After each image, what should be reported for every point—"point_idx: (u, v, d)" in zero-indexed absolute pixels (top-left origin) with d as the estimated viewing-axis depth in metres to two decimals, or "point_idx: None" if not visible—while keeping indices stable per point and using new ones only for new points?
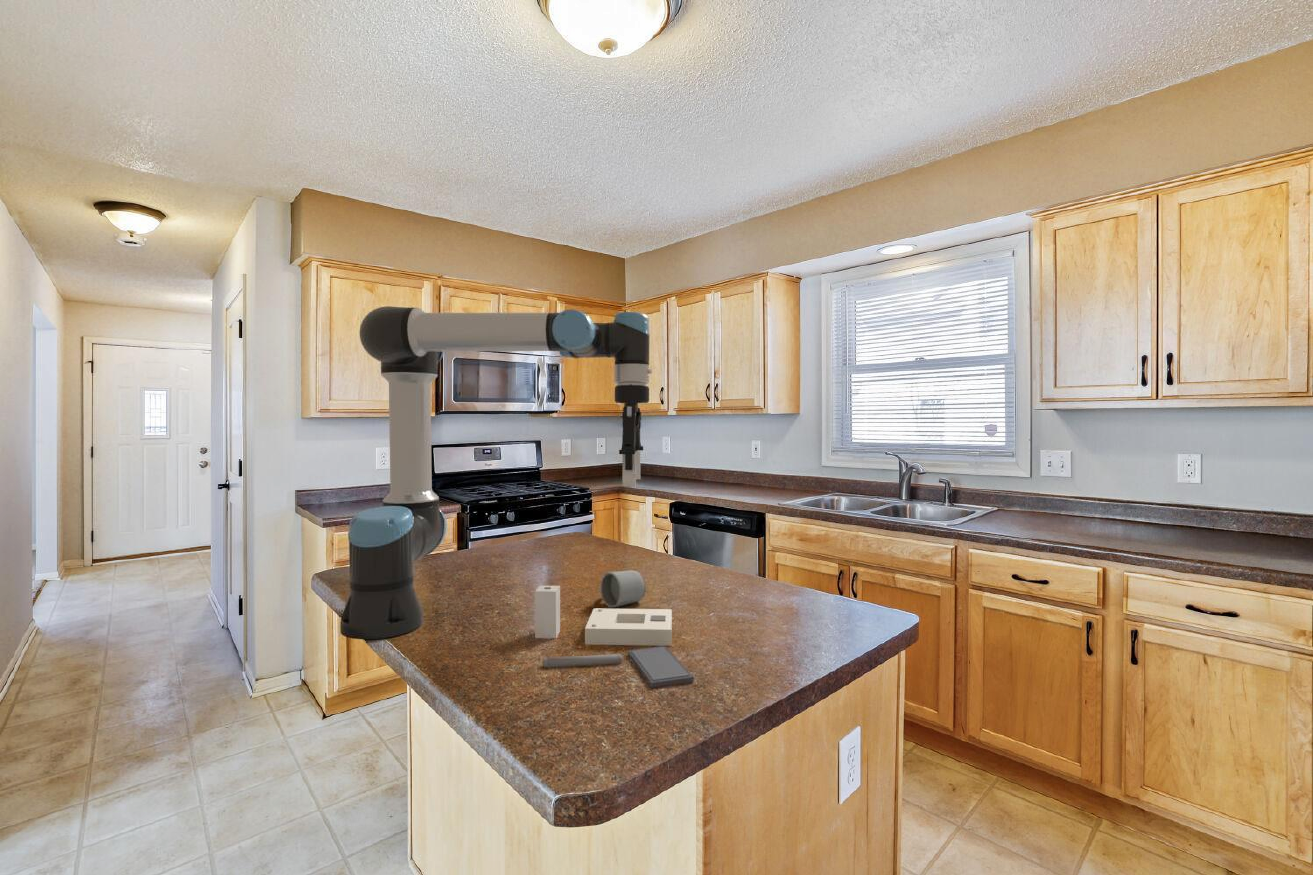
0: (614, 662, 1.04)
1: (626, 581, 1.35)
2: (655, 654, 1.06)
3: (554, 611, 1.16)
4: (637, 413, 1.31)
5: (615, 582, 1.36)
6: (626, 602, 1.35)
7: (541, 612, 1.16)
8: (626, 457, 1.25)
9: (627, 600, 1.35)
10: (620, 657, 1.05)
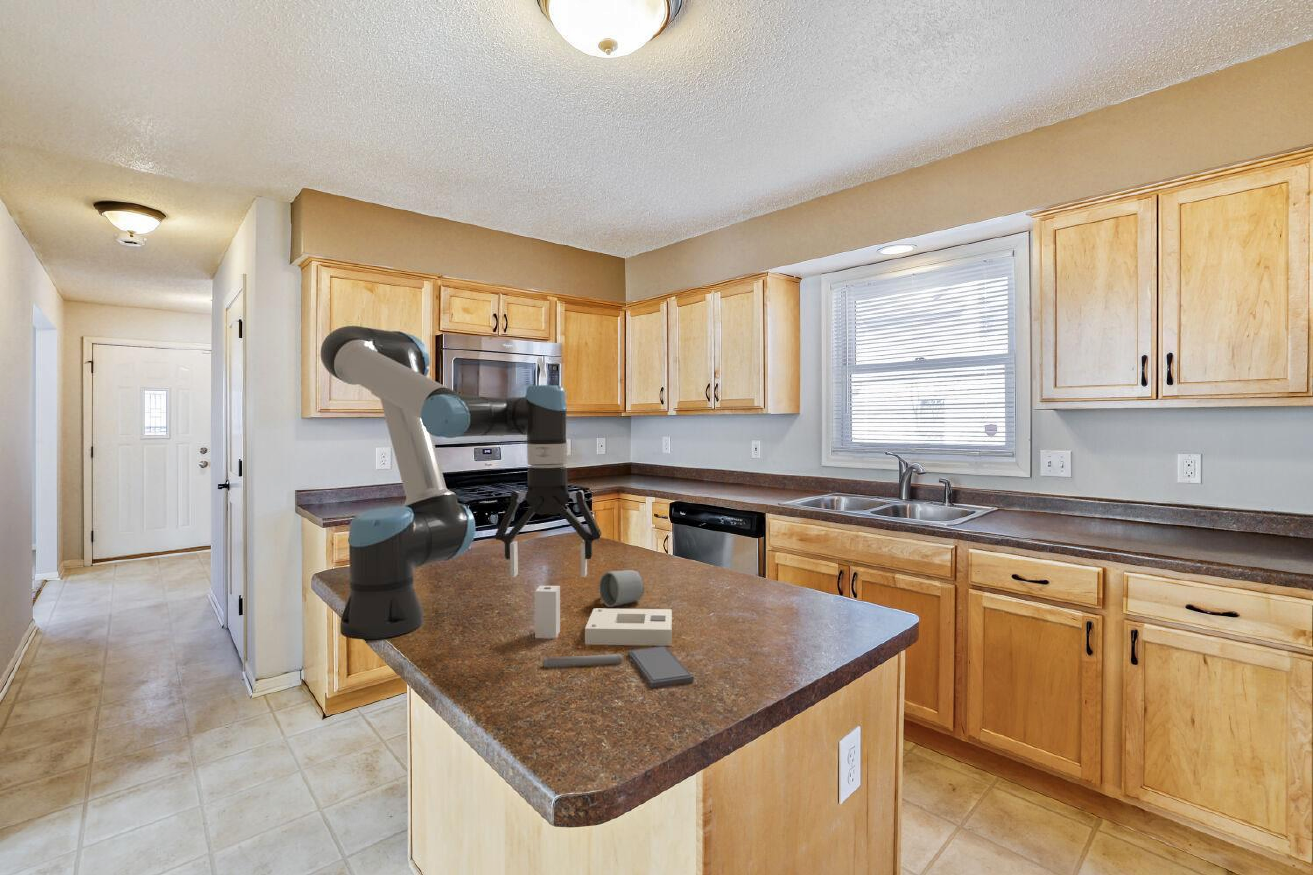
0: (614, 662, 1.04)
1: (625, 581, 1.35)
2: (655, 654, 1.06)
3: (554, 611, 1.16)
4: (536, 499, 1.16)
5: (614, 582, 1.37)
6: (625, 602, 1.36)
7: (541, 612, 1.16)
8: None
9: (625, 600, 1.35)
10: (620, 657, 1.05)
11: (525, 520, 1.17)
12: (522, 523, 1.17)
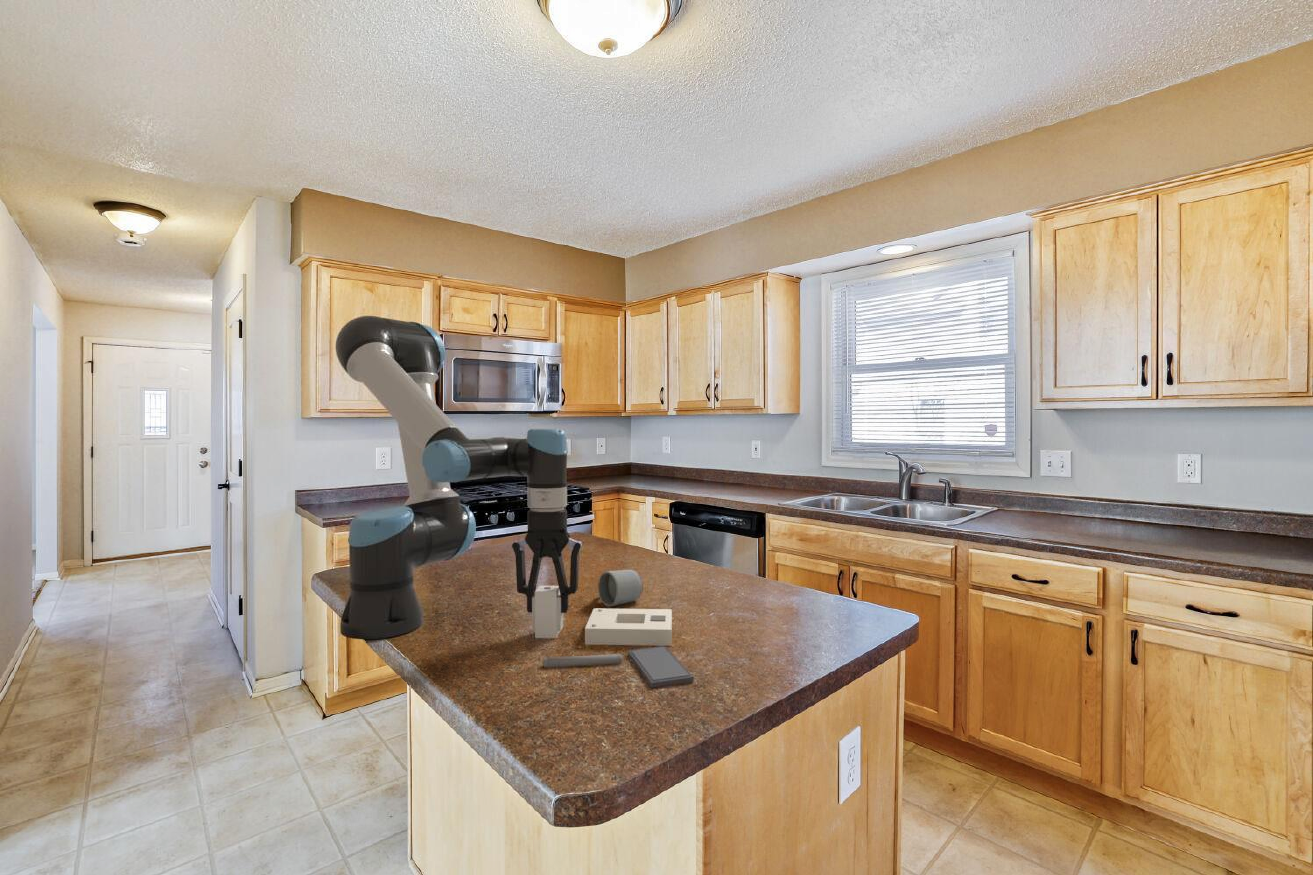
0: (614, 662, 1.04)
1: (623, 580, 1.36)
2: (655, 654, 1.06)
3: (554, 611, 1.16)
4: (536, 541, 1.17)
5: (612, 581, 1.37)
6: (623, 601, 1.36)
7: (541, 612, 1.16)
8: None
9: (624, 599, 1.36)
10: (620, 657, 1.05)
11: (536, 567, 1.17)
12: (535, 571, 1.17)
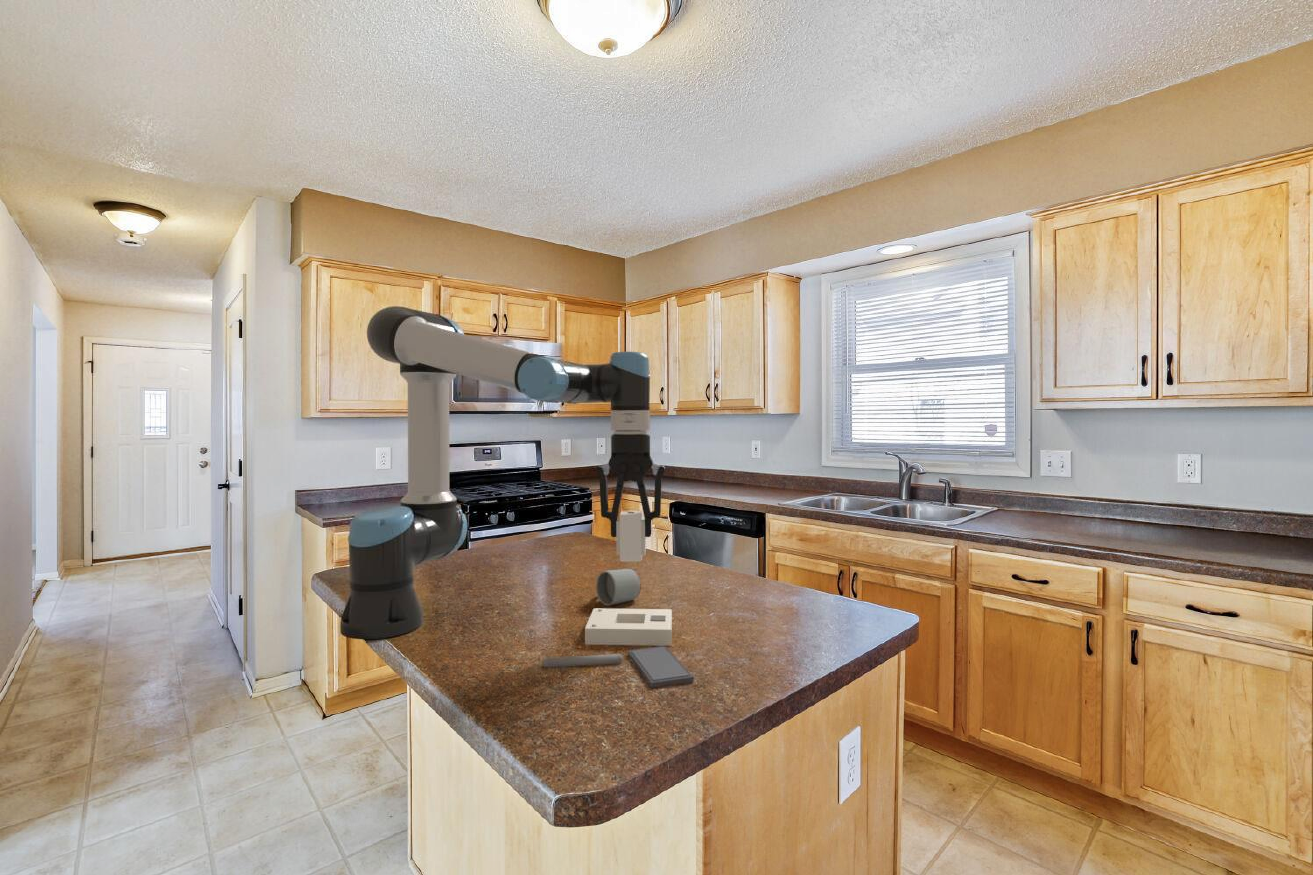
0: (614, 662, 1.04)
1: (621, 579, 1.36)
2: (655, 654, 1.06)
3: (639, 534, 1.16)
4: (620, 465, 1.17)
5: (610, 580, 1.38)
6: (621, 600, 1.37)
7: (626, 535, 1.16)
8: None
9: (622, 598, 1.36)
10: (620, 657, 1.05)
11: (620, 491, 1.17)
12: (619, 495, 1.17)
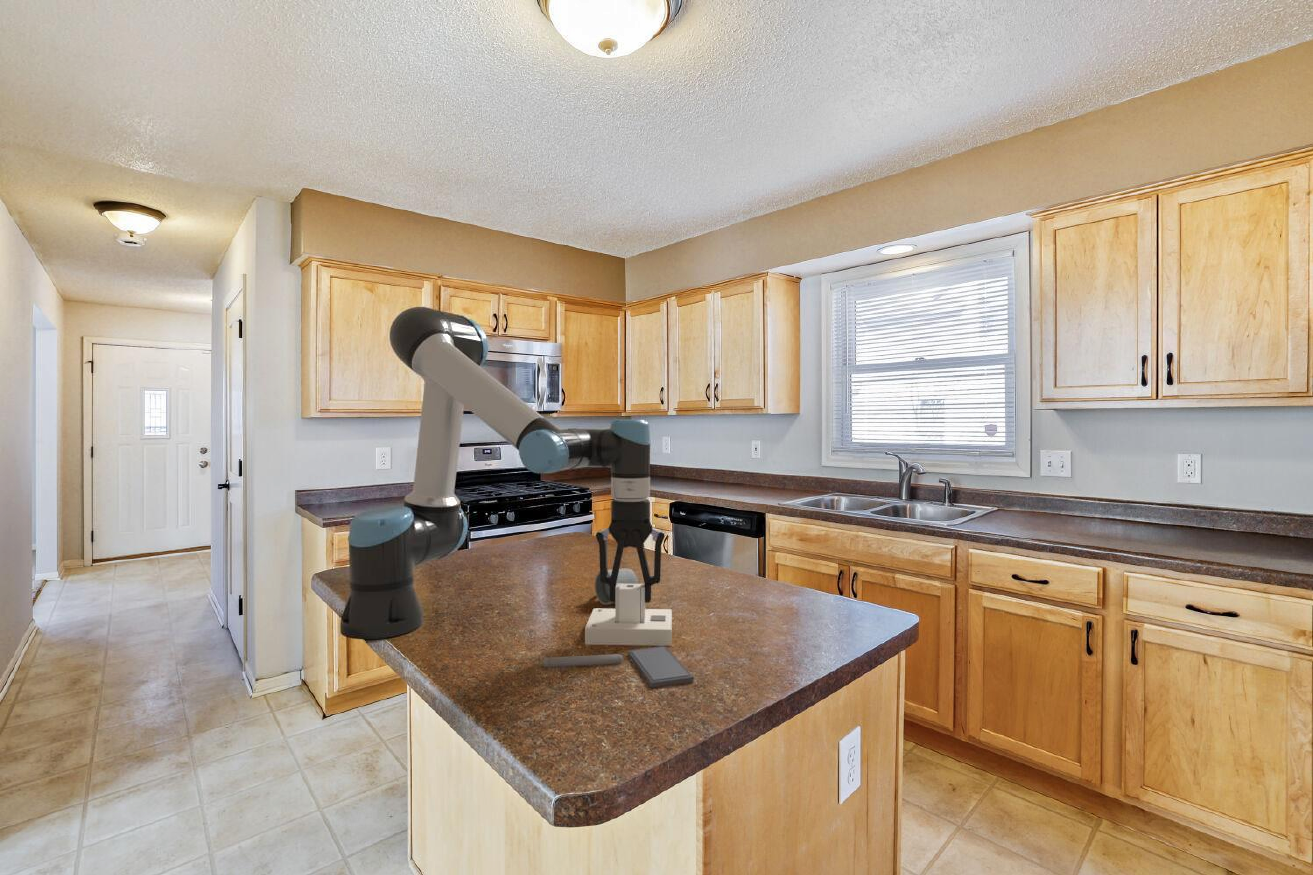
0: (614, 662, 1.04)
1: (620, 579, 1.37)
2: (655, 654, 1.06)
3: (638, 609, 1.17)
4: (620, 531, 1.17)
5: None
6: None
7: (625, 610, 1.17)
8: None
9: None
10: (620, 657, 1.05)
11: (619, 557, 1.17)
12: (618, 561, 1.17)
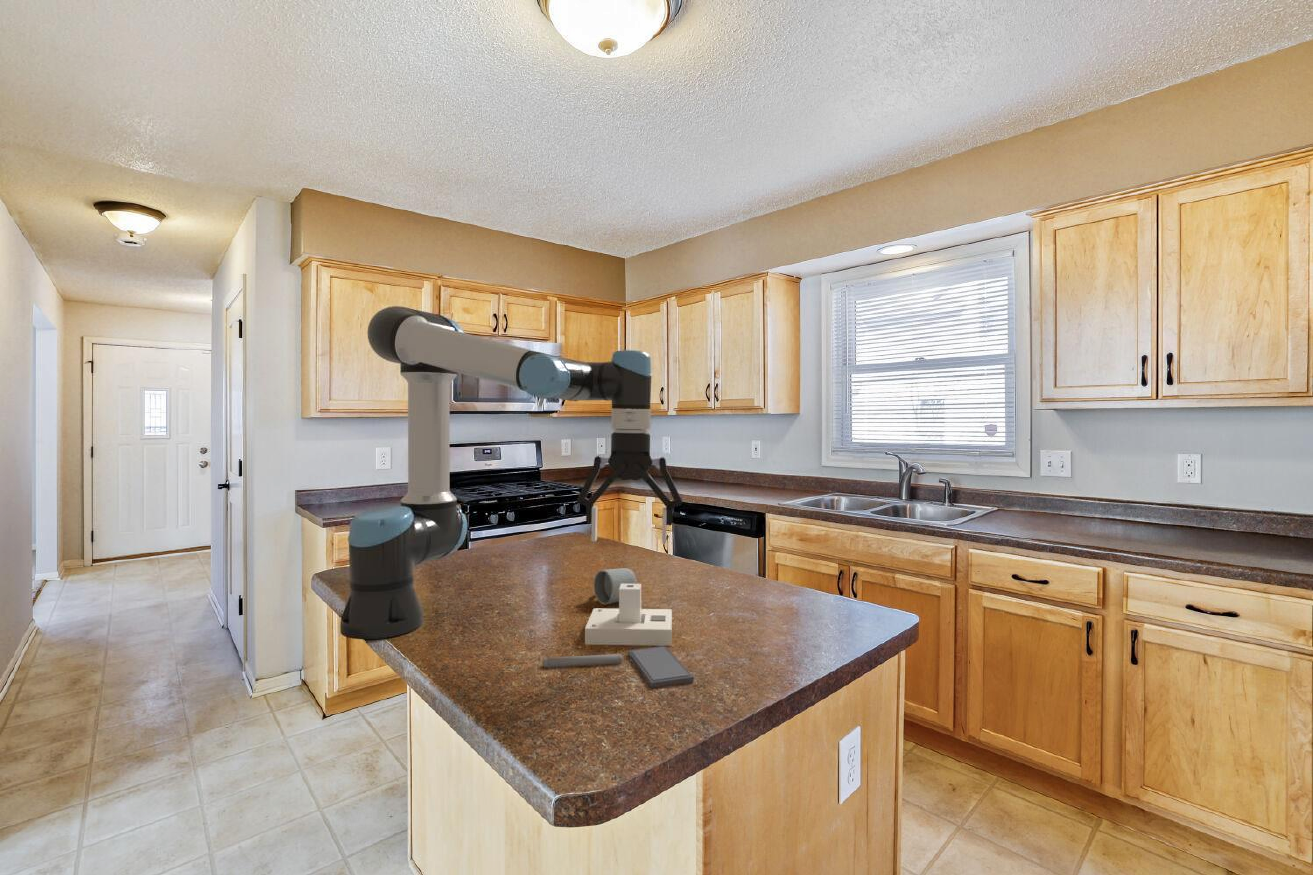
0: (614, 662, 1.04)
1: (619, 578, 1.37)
2: (655, 654, 1.06)
3: (638, 609, 1.17)
4: (619, 464, 1.17)
5: (608, 579, 1.38)
6: None
7: (625, 610, 1.17)
8: None
9: None
10: (620, 657, 1.05)
11: (608, 485, 1.17)
12: (605, 488, 1.17)
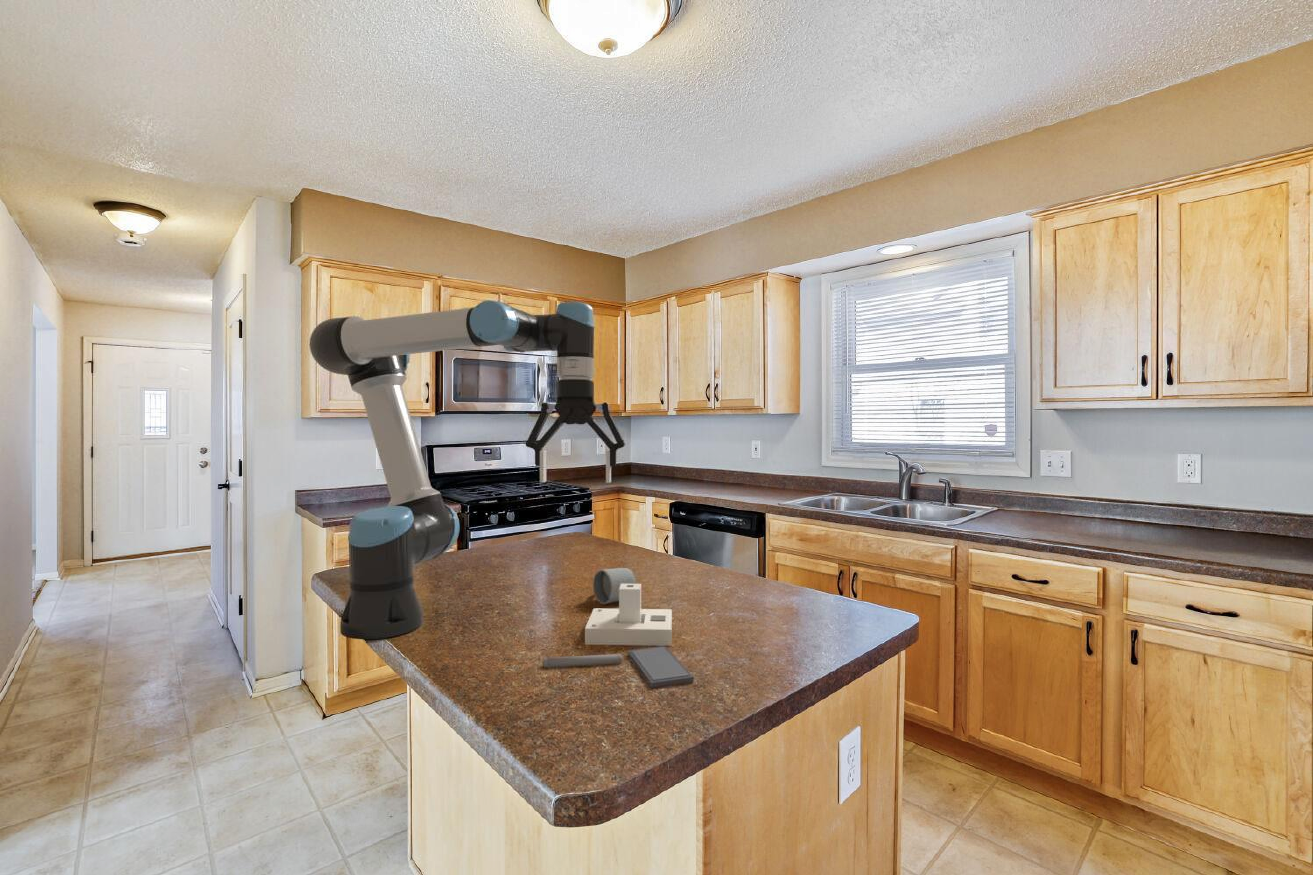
0: (614, 662, 1.04)
1: (617, 578, 1.37)
2: (655, 654, 1.06)
3: (638, 609, 1.17)
4: (565, 409, 1.25)
5: (607, 579, 1.39)
6: (617, 599, 1.38)
7: (625, 610, 1.17)
8: None
9: (618, 597, 1.37)
10: (620, 657, 1.05)
11: (554, 429, 1.25)
12: (551, 432, 1.25)
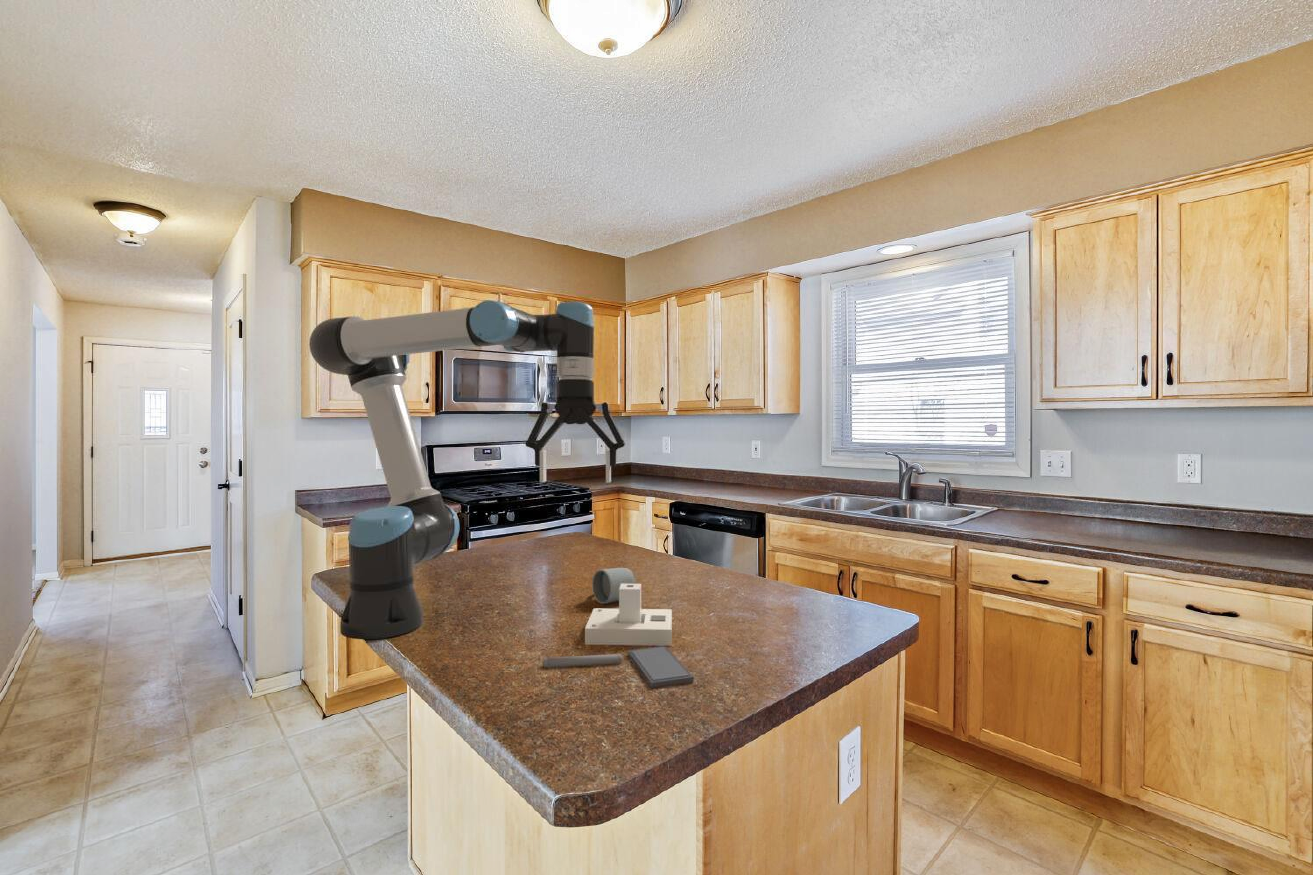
0: (614, 662, 1.04)
1: (617, 578, 1.37)
2: (655, 654, 1.06)
3: (638, 609, 1.17)
4: (565, 409, 1.25)
5: (606, 579, 1.39)
6: (617, 599, 1.38)
7: (625, 610, 1.17)
8: None
9: (617, 597, 1.37)
10: (620, 657, 1.05)
11: (554, 429, 1.25)
12: (551, 432, 1.25)
